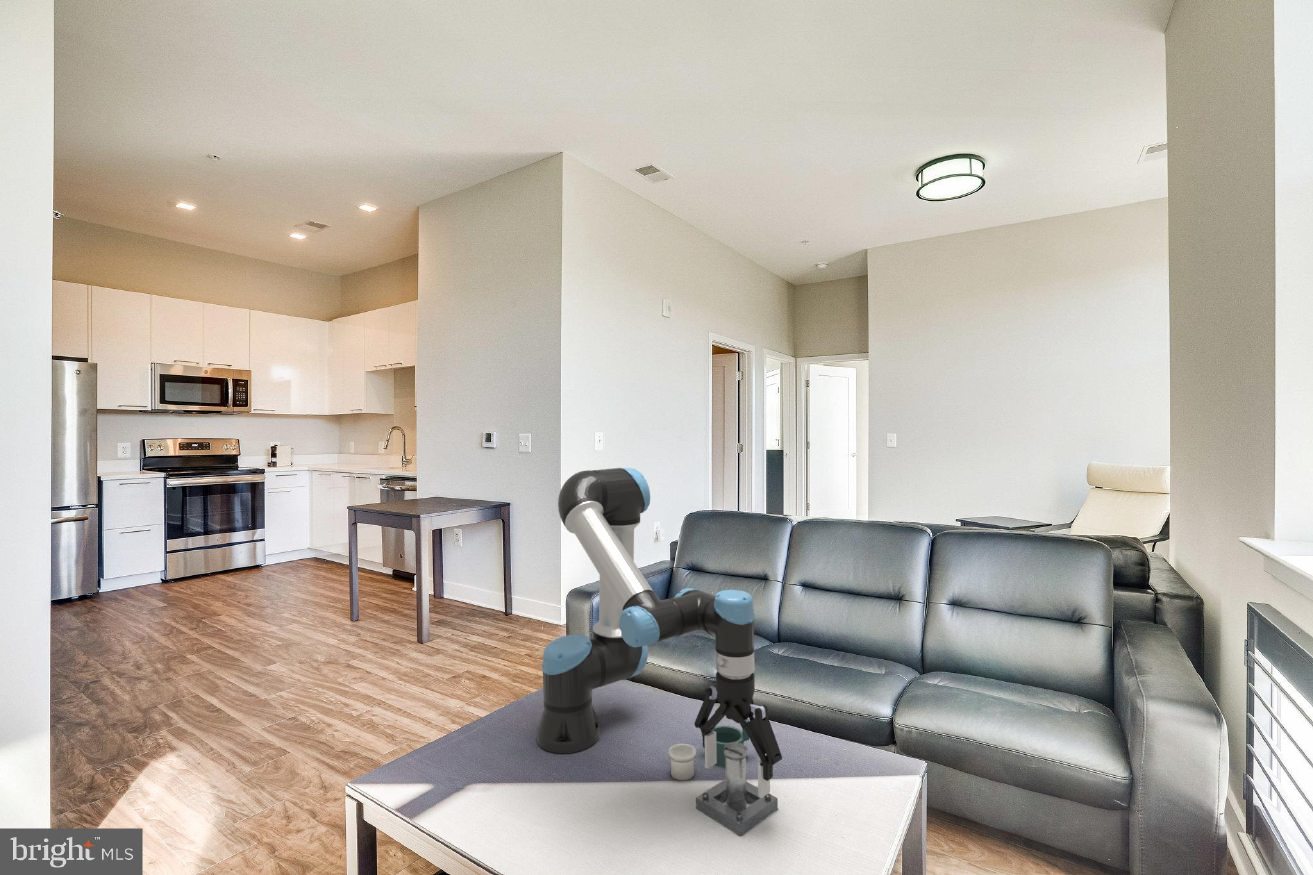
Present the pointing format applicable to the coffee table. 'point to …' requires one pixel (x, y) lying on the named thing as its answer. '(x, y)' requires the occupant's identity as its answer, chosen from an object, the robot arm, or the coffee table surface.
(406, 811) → the coffee table surface
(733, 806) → the grey cylinder
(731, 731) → the green cup holder
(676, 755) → the cup
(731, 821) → the socket
